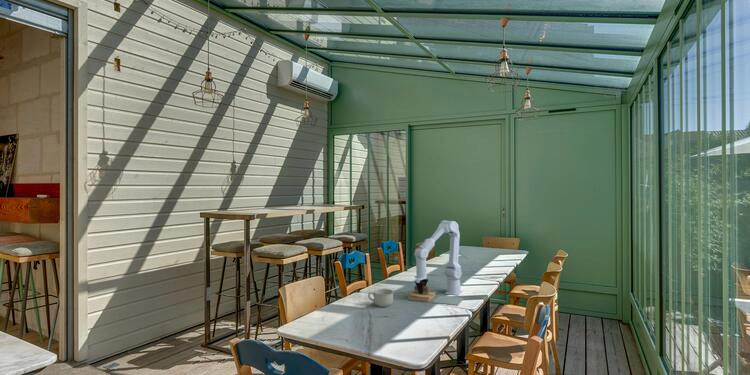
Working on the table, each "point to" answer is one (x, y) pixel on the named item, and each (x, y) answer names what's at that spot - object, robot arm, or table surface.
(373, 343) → the table surface
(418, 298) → the terracotta dish
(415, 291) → the oak lid
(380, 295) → the teacup
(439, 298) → the rubber mat
